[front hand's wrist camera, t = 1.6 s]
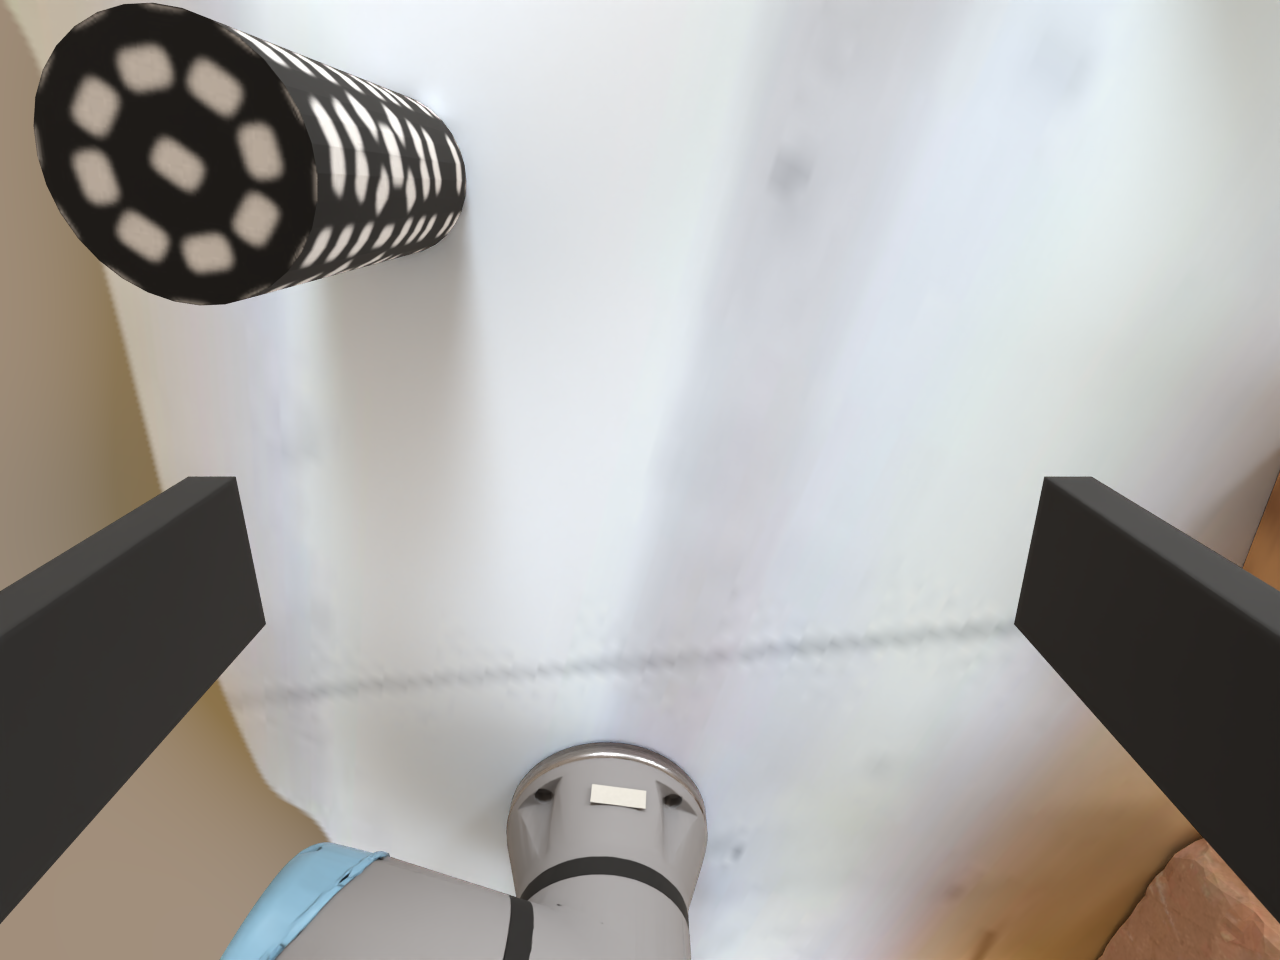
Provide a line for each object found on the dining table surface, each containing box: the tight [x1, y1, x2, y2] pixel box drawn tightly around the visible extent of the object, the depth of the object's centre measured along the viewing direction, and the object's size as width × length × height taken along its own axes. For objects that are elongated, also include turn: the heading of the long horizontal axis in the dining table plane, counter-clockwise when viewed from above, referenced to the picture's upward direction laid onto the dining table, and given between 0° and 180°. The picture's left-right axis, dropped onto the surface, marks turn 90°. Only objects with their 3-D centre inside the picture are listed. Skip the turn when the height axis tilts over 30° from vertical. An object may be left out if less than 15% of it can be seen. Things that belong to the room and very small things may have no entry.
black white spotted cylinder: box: [34, 3, 466, 305], centre depth 31 cm, size 8×8×20 cm
